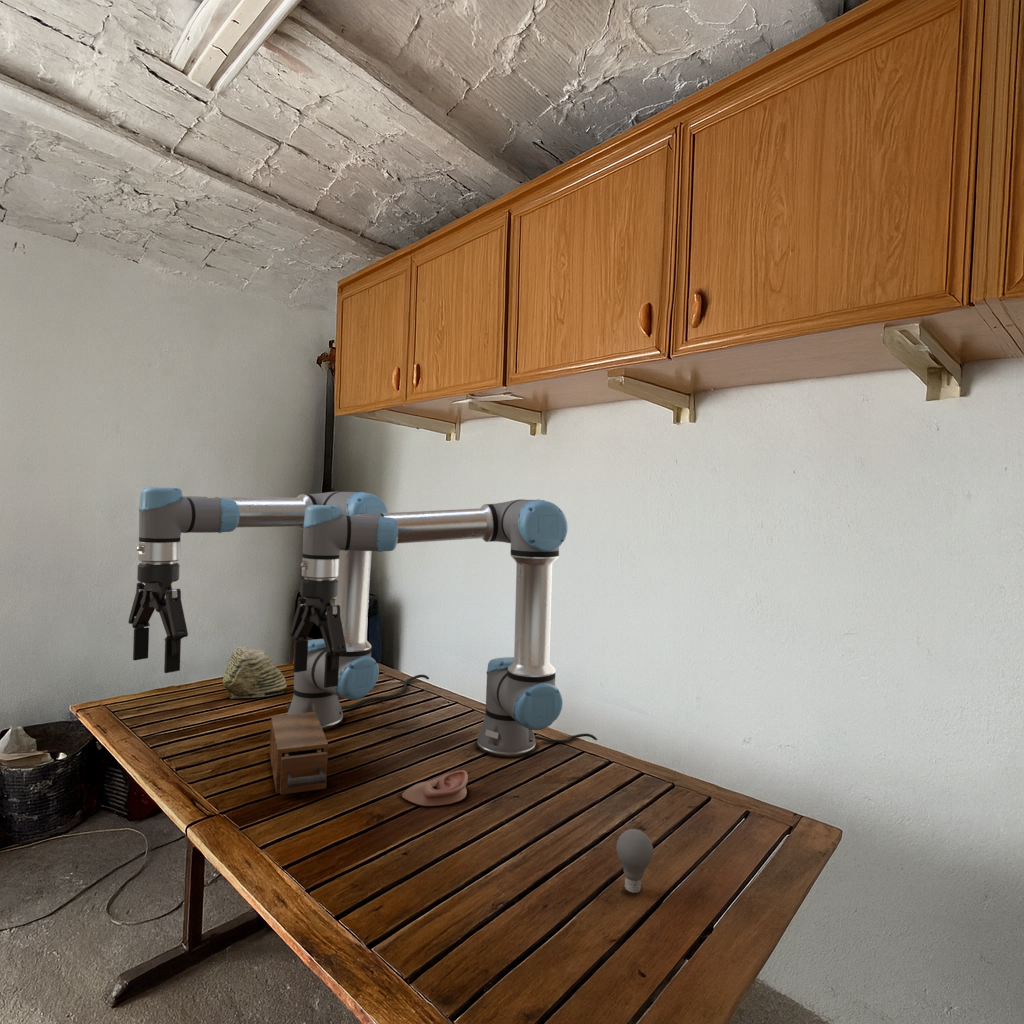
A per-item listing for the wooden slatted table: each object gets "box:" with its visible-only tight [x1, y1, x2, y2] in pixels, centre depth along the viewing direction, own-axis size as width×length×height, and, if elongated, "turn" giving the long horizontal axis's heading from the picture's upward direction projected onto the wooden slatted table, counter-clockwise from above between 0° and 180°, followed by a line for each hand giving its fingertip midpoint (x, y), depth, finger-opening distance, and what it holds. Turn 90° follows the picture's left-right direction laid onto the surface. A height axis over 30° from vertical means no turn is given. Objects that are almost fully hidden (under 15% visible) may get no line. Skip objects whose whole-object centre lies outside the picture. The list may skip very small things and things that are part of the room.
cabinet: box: [269, 712, 329, 794], centre depth 146 cm, size 22×10×10 cm, turn 24°
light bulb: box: [615, 828, 654, 894], centre depth 106 cm, size 6×6×10 cm
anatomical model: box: [401, 769, 469, 807], centre depth 137 cm, size 13×4×12 cm
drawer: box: [279, 749, 328, 796], centre depth 140 cm, size 26×9×8 cm, turn 24°
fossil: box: [222, 646, 288, 699], centre depth 198 cm, size 9×18×15 cm, turn 132°
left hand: (155, 665), depth 130 cm, fingers open, 13 cm apart
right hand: (314, 678), depth 134 cm, fingers open, 13 cm apart
